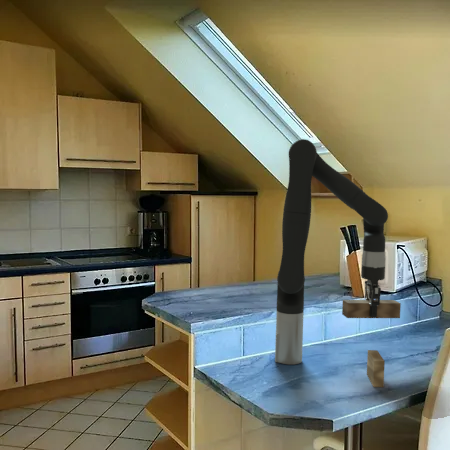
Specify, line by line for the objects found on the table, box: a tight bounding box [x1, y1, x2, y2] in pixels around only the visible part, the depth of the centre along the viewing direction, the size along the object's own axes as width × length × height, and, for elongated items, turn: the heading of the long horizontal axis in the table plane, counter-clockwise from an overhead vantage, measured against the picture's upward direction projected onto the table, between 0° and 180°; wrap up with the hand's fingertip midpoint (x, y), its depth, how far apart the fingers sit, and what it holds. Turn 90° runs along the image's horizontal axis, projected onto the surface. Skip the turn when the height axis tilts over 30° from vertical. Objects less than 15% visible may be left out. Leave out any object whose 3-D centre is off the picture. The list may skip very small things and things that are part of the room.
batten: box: [341, 299, 402, 319], centre depth 161 cm, size 18×5×5 cm, turn 96°
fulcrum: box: [366, 349, 385, 388], centre depth 148 cm, size 3×10×8 cm, turn 174°
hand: (371, 314), depth 161 cm, fingers closed on batten, 5 cm apart
